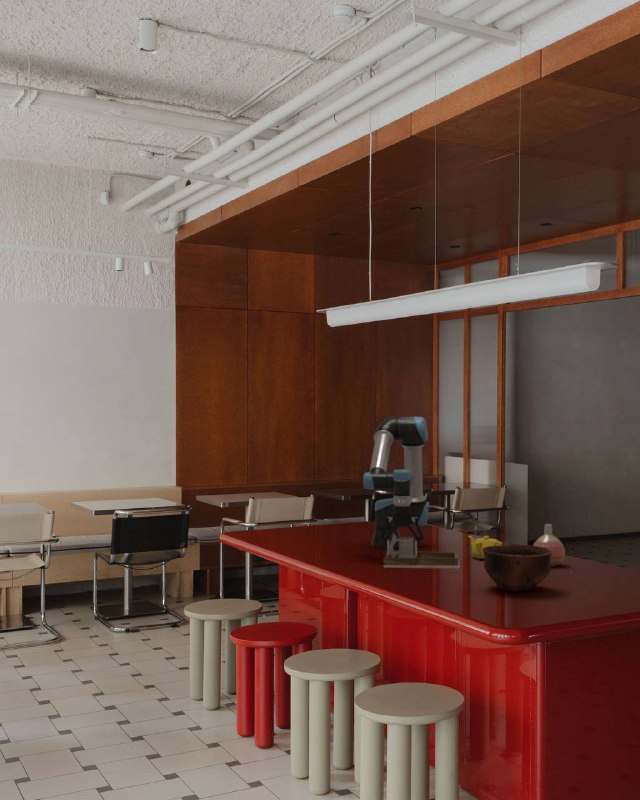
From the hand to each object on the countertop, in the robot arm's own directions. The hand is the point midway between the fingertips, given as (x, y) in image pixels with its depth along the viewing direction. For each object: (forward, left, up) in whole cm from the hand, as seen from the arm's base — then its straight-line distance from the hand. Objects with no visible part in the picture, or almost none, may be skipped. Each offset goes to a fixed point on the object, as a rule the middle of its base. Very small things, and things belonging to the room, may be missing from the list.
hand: (402, 555), depth 393 cm
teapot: (-18, +36, -4) cm, 41 cm away
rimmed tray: (0, +8, -4) cm, 9 cm away
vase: (-2, +62, -4) cm, 63 cm away
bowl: (+53, +44, -4) cm, 69 cm away
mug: (0, 0, -2) cm, 2 cm away
